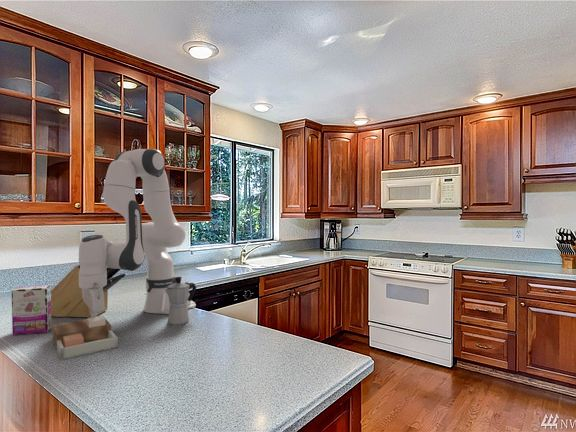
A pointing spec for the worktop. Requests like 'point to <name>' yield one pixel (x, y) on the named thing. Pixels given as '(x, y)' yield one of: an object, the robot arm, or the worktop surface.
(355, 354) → the worktop surface
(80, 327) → the wooden box
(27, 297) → the candy bar box
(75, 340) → the tile
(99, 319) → the tile
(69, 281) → the knife block
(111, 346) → the tray
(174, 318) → the coffee maker
